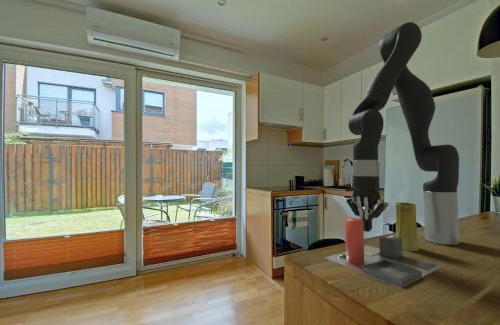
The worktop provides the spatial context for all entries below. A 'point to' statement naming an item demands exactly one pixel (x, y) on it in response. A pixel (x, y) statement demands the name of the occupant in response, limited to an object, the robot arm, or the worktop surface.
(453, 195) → the robot arm
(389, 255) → the breaker
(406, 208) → the vase
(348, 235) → the red tapered cylinder
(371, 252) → the panel
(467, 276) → the worktop surface
